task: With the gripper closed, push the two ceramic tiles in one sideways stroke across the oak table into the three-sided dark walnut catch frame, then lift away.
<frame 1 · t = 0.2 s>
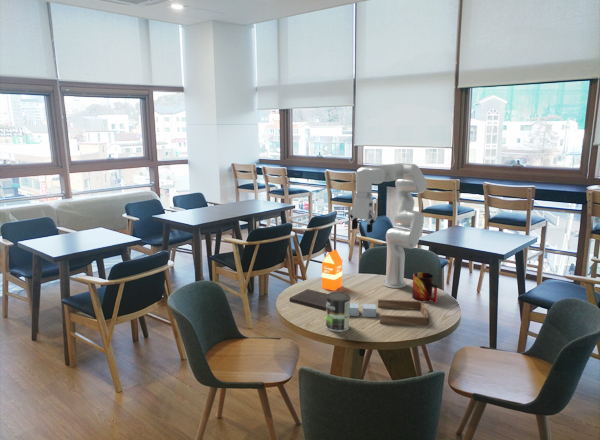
hand: (361, 230, 225), 36 cm above the table, tool pointing down, fingers open, 9 cm apart
tile rear: (351, 313, 218), on the table
catch frame: (402, 315, 216), on the table
orange juice: (331, 287, 254), on the table
hardcover book: (317, 302, 233), on the table
coffee can: (337, 327, 203), on the table
tile front: (369, 314, 217), on the table
mug: (425, 299, 236), on the table
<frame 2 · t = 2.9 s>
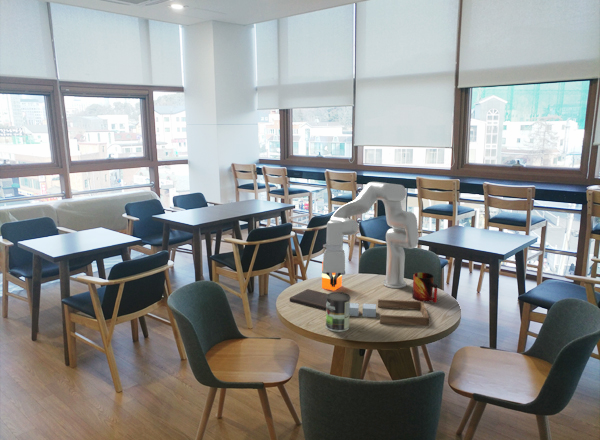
hand: (333, 286, 216), 13 cm above the table, tool pointing down, fingers closed
nothing on the table moved.
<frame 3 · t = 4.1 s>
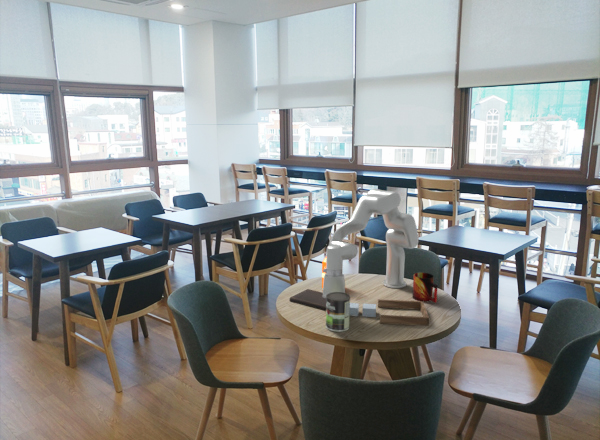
hand: (333, 309, 219), 1 cm above the table, tool pointing down, fingers closed
nothing on the table moved.
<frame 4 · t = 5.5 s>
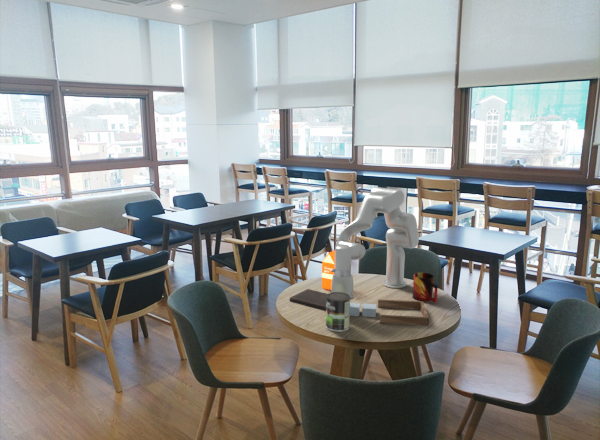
hand: (341, 309, 218), 1 cm above the table, tool pointing down, fingers closed
tile rear: (352, 313, 218), on the table, touching gripper
everything else where it was.
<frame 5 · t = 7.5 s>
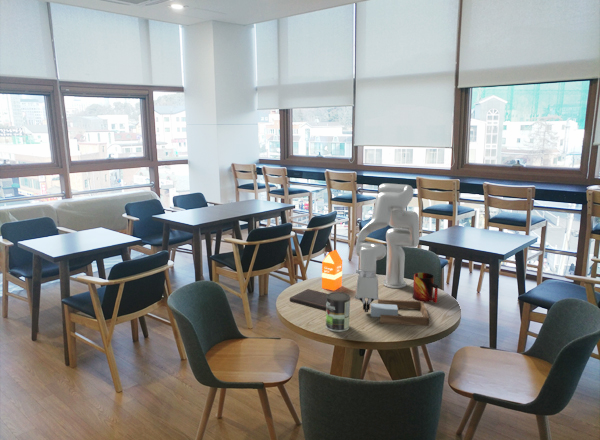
hand: (366, 311, 217), 1 cm above the table, tool pointing down, fingers closed
tile rear: (377, 314, 217), on the table, touching gripper
tile front: (390, 315, 216), on the table
everything else where it was.
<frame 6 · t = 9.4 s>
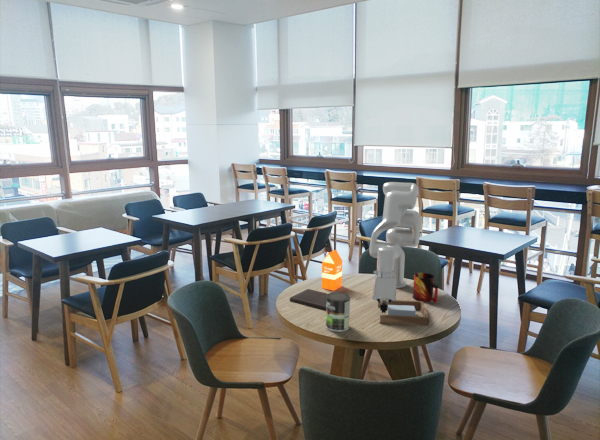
hand: (383, 311, 216), 1 cm above the table, tool pointing down, fingers closed
tile rear: (394, 315, 216), on the table, touching gripper
tile front: (407, 316, 215), on the table
everything else where it was.
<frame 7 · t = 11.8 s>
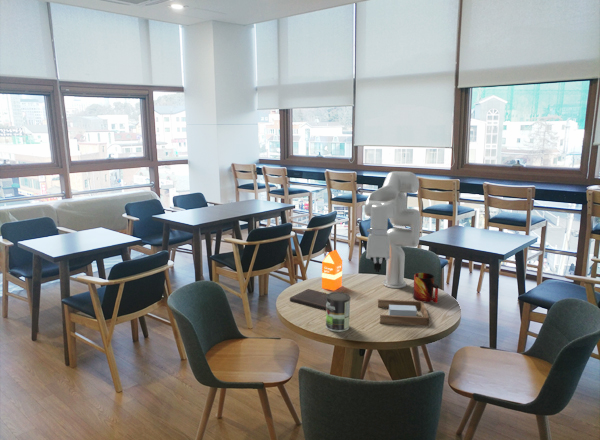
hand: (377, 271, 213), 21 cm above the table, tool pointing down, fingers closed
tile rear: (395, 315, 216), on the table
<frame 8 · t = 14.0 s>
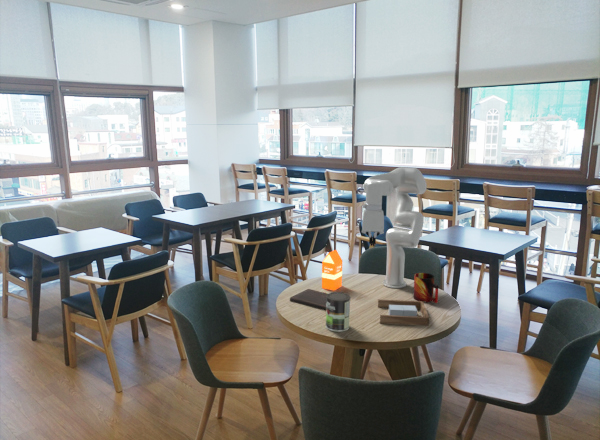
hand: (372, 245, 226), 29 cm above the table, tool pointing down, fingers closed
nothing on the table moved.
at the end: tile front inside the target area (3.7 cm from its centre), on the table; tile rear inside the target area (2.4 cm from its centre), on the table; tile rear moved 20.1 cm from its start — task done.
